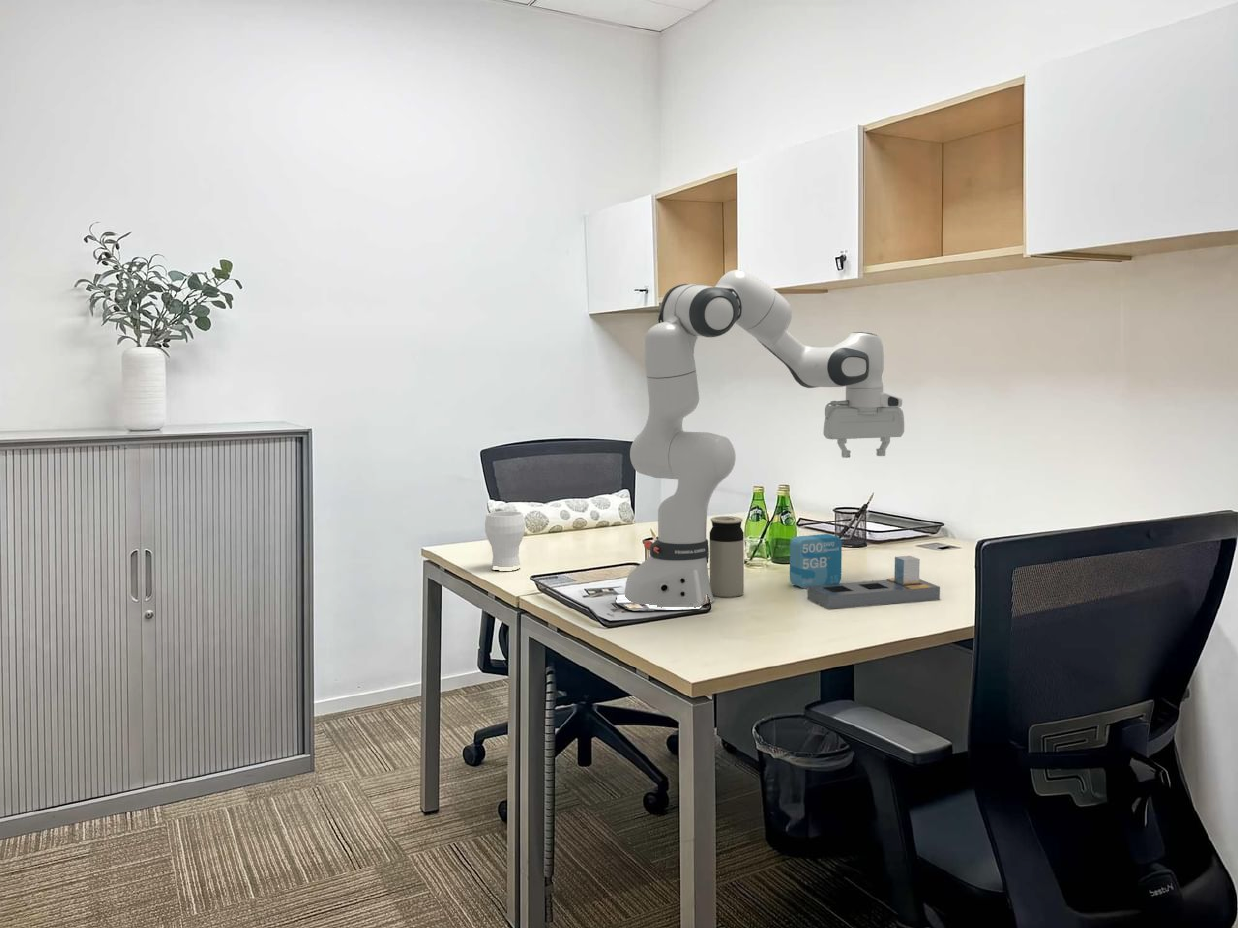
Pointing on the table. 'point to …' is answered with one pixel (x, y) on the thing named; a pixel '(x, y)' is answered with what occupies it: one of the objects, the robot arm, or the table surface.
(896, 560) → the steel peg
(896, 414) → the robot arm
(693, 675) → the table surface
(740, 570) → the travel mug
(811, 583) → the data package
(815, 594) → the hole rail
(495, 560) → the cup
